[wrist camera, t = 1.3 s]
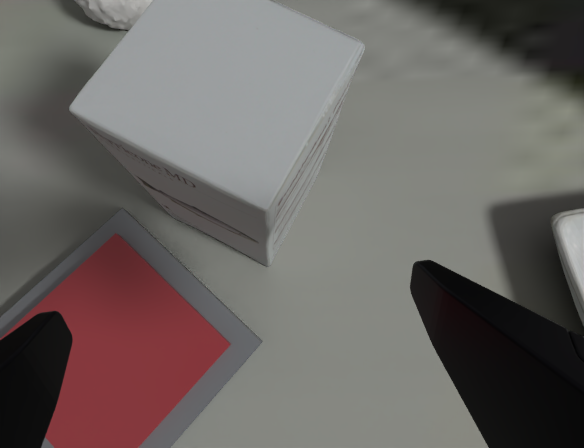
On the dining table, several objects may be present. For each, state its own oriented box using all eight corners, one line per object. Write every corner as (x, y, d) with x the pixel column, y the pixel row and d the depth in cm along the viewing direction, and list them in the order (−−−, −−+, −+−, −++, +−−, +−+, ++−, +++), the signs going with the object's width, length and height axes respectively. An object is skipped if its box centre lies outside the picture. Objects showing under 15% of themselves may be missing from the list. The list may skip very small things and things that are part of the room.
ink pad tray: (105, 521, 18) (92, 536, 17) (-37, 359, 20) (-59, 362, 19) (262, 341, 21) (261, 342, 20) (126, 211, 23) (117, 204, 21)
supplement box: (169, 218, 23) (53, 105, 11) (228, 129, 25) (185, -53, 13) (269, 272, 22) (266, 217, 10) (321, 177, 24) (371, 35, 12)
